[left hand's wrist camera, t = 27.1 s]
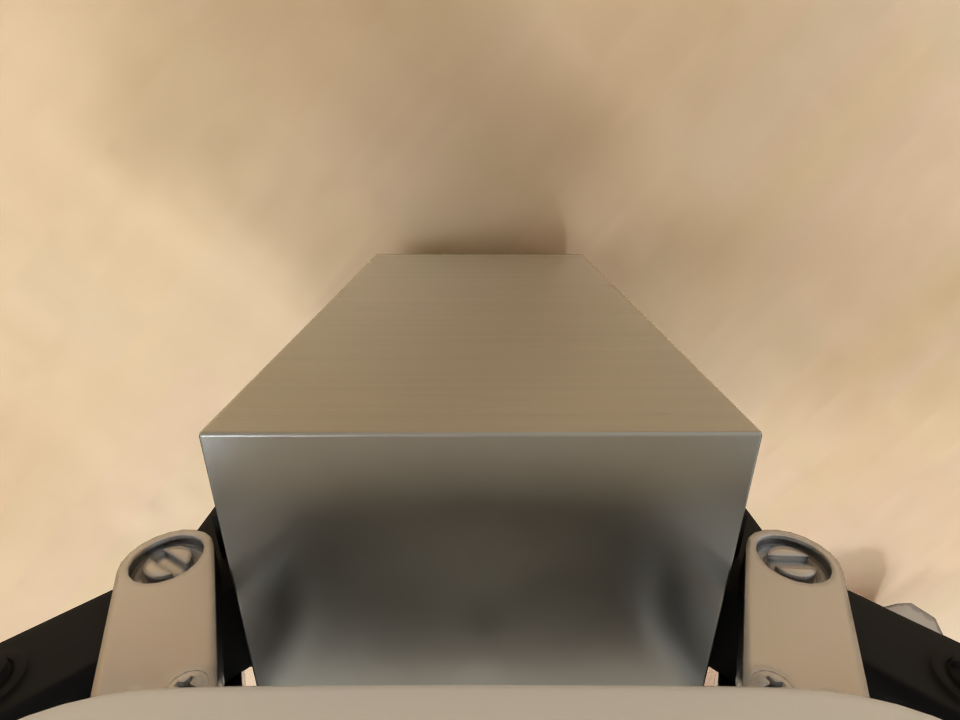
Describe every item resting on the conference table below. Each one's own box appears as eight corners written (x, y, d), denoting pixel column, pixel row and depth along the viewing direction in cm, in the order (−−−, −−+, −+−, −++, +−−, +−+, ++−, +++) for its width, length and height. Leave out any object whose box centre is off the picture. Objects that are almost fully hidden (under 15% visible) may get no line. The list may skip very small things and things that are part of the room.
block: (390, 440, 20) (281, 796, 9) (376, 253, 17) (196, 433, 6) (568, 440, 20) (679, 795, 9) (582, 254, 17) (764, 433, 6)
